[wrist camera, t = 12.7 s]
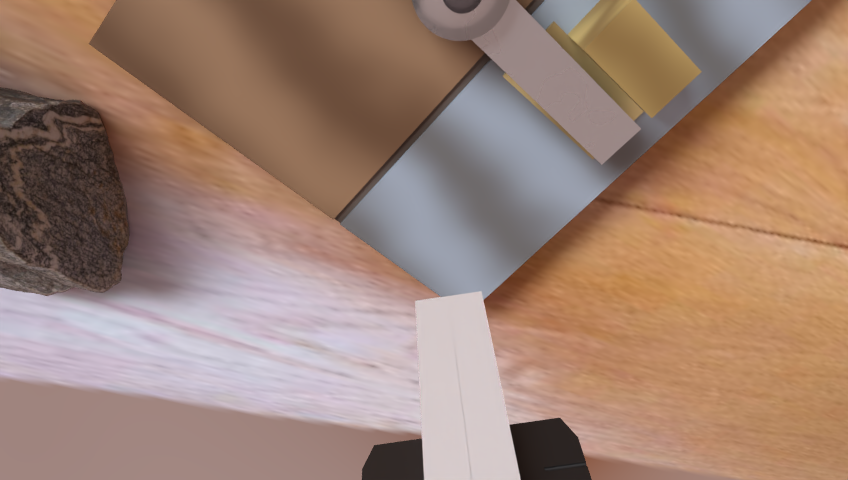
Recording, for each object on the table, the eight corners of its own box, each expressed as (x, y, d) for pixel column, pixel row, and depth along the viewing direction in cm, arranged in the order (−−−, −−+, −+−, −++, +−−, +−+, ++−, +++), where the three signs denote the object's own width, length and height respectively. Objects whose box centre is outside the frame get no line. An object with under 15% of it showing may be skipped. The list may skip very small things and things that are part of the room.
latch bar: (390, -17, 31) (390, -5, 28) (454, -94, 29) (461, -90, 26) (578, 161, 36) (595, 188, 33) (642, 103, 34) (665, 125, 31)
